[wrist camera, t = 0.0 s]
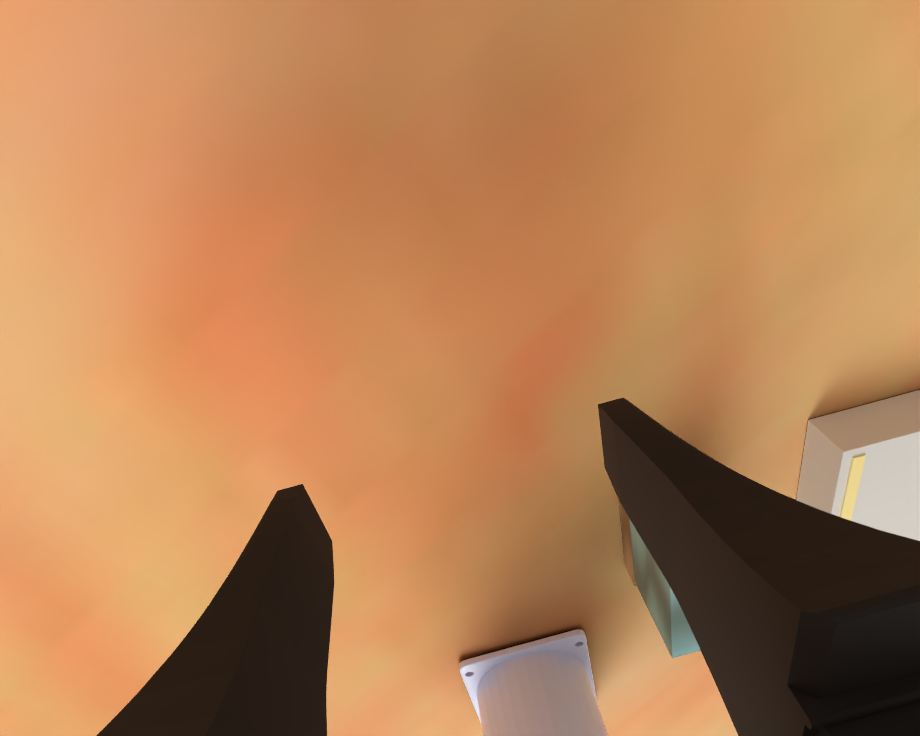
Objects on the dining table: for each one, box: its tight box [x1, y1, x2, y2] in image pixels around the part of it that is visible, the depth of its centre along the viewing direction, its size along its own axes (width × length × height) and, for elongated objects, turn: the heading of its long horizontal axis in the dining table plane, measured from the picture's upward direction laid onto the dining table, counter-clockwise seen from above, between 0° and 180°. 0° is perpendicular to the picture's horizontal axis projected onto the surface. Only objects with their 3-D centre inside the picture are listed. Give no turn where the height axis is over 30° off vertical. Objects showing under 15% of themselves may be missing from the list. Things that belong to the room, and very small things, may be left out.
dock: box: [796, 390, 920, 541], centre depth 30 cm, size 12×10×4 cm
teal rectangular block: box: [619, 501, 700, 658], centre depth 28 cm, size 7×4×6 cm, turn 12°
